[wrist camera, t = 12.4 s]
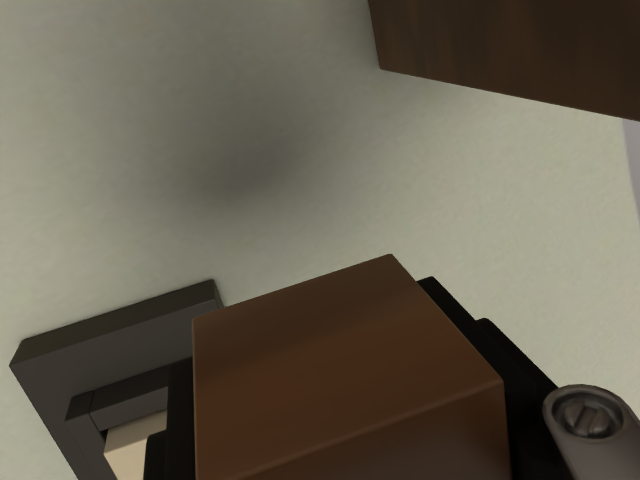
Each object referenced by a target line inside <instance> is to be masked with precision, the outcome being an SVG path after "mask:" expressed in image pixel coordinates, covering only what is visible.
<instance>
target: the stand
mask: <svg viewBox="0 0 640 480" xmlns="http://www.w3.org/2000/svg"><path fill="white" fill-rule="evenodd" d="M368 1H369V7H370V12H371V18H372V24H373V29H374V35H375V41H376V46H377V52H378V58H379V63H380V68H381V69H382V70H387V71H392V72H397V73H402V74H407V75H411V76H416V77H421V78H426V79H431V80H436V81H441V82H446V83H451V84H456V85H461V86H466V87H471V88H476V89H481V90H486V91H491V92H496V93H500V94H505V95H510V96H515V97H520V98H525V99H530V100H535V101H540V102H545V103H550V104H555V105H560V106H565V107H570V108H575V109H580V110H585V111H590V112H594V113H599V114H604V115H609V116H614V117H619V118H625V119H629V120H634V121H639V122H640V0H368Z"/></svg>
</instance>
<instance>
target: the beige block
mask: <svg viewBox="0 0 640 480" xmlns="http://www.w3.org/2000/svg"><path fill="white" fill-rule="evenodd" d="M166 423H167V408H166V409H163V410H160V411H157V412H154V413H151V414H149V415H146V416H143V417H140V418H137V419H134V420H131V421H129V422H126V423H123V424H120V425H117V426H114V427H111V428H109V429H108V434H107V439H106V444H105V449H104V456H105V458H106V459H107V461H108V463H109V465H110V467H111V468H112V470H113V472H114V474H115V475H116V477H117V479H118V480H143V472H144V461H145V450H146V442H147V438H148V436H149V435H151V434H154V433H157V432H160V431H163V430H165V429H166Z"/></svg>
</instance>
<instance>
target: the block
mask: <svg viewBox="0 0 640 480" xmlns="http://www.w3.org/2000/svg"><path fill="white" fill-rule="evenodd" d="M192 352H193V393H194V433H195V474H196V480H513V477H512V466H511V455H510V445H509V434H508V423H507V413H506V402H505V391H504V382H503V380H502V378H501V377H500V376H499V375H498V374H497V372H496V371H495V370H494V369H493V368H492V367H491V366H490V364H489V363H488V362H487V361H486V360H485V359H484V358H483V357H482V355H481V354H480V353H479V352H478V351H477V350H476V349H475V348H474V346H473V345H472V344H471V343H470V342H469V341H468V340H467V338H466V337H465V336H464V335H463V334H462V333H461V332H460V331H459V329H458V328H457V327H456V326H455V325H454V324H453V323H452V321H451V320H450V319H449V318H448V317H447V316H446V315H445V314H444V312H443V311H442V310H441V309H440V308H439V307H438V306H437V304H436V303H435V302H434V301H433V300H432V299H431V298H430V297H429V295H428V294H427V293H426V292H425V291H424V290H423V289H422V287H421V286H420V285H419V284H418V283H417V282H416V281H415V280H414V278H413V277H412V276H411V275H410V274H409V273H408V272H407V270H406V269H405V268H404V267H403V266H402V265H401V264H400V263H399V261H398V260H397V259H396V258H395V257H394V256H393V255H392V254H387V255H384V256H381V257H378V258H374V259H371V260H368V261H365V262H362V263H359V264H356V265H353V266H350V267H347V268H344V269H341V270H338V271H335V272H332V273H329V274H326V275H322V276H319V277H316V278H313V279H310V280H307V281H304V282H301V283H298V284H295V285H292V286H289V287H286V288H283V289H280V290H277V291H273V292H270V293H267V294H264V295H261V296H258V297H255V298H252V299H249V300H246V301H243V302H240V303H237V304H234V305H231V306H228V307H225V308H221V309H218V310H215V311H212V312H209V313H206V314H203V315H200V316H197V317H194V318H193V319H192Z"/></svg>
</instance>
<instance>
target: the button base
mask: <svg viewBox="0 0 640 480" xmlns="http://www.w3.org/2000/svg"><path fill="white" fill-rule="evenodd" d="M221 308H224V306H223V304H222V301H221V298H220V296H219V293H218V290H217V287H216V285H215V282H214V280H209V281H206V282H203V283H200V284H197V285H194V286H191V287H188V288H185V289H181V290H178V291H175V292H172V293H169V294H166V295H163V296H160V297H157V298H154V299H150V300H147V301H144V302H141V303H138V304H135V305H132V306H129V307H126V308H122V309H119V310H116V311H113V312H110V313H107V314H104V315H101V316H98V317H94V318H91V319H88V320H85V321H82V322H79V323H76V324H73V325H70V326H66V327H63V328H60V329H57V330H54V331H51V332H48V333H45V334H42V335H38V336H35V337H32V338H29V339H26V340H23V341H21V343H20V345H19V347H18V349H17V351H16V353H15V355H14V357H13V358H12V360H11V362H10V364H9V367H10V369H11V370H12V372H13V374H14V375H15V377H16V378H17V380H18V382H19V383H20V385H21V387H22V388H23V390H24V392H25V393H26V395H27V396H28V398H29V400H30V401H31V403H32V405H33V406H34V408H35V409H36V411H37V413H38V414H39V416H40V418H41V419H42V421H43V423H44V424H45V426H46V427H47V429H48V431H49V432H50V434H51V436H52V437H53V439H54V441H55V442H56V444H57V445H58V447H59V449H60V450H61V452H62V454H63V455H64V457H65V458H66V460H67V462H68V463H69V465H70V467H71V468H72V470H73V472H74V473H75V475H76V476H77V478H78V480H118V479H117V477H116V475H115V474H114V472H113V470H112V468H111V467H110V465H109V463H108V461H107V459H106V458H105V456H104V449H105V444H106V439H107V434H108V429H109V428H111V427H114V426H117V425H120V424H123V423H126V422H129V421H131V420H134V419H137V418H140V417H143V416H146V415H149V414H151V413H154V412H157V411H160V410H163V409H166V408H167V400H168V377H169V365H170V364H171V363H174V362H177V361H180V360H183V359H186V358H189V357H192V356H193V352H192V319H193V318H194V317H197V316H200V315H203V314H206V313H209V312H212V311H215V310H218V309H221Z"/></svg>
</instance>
